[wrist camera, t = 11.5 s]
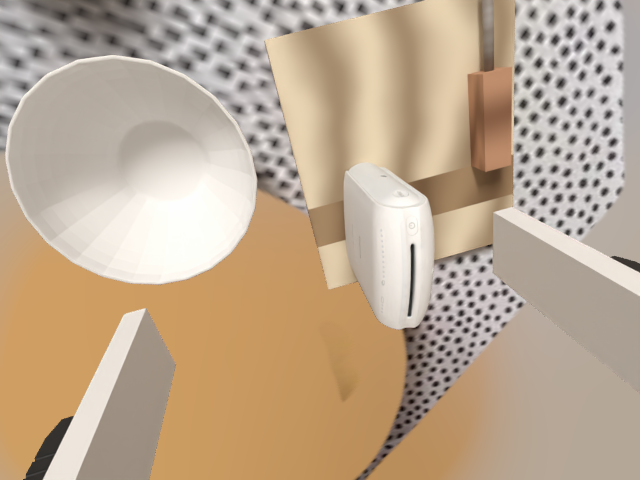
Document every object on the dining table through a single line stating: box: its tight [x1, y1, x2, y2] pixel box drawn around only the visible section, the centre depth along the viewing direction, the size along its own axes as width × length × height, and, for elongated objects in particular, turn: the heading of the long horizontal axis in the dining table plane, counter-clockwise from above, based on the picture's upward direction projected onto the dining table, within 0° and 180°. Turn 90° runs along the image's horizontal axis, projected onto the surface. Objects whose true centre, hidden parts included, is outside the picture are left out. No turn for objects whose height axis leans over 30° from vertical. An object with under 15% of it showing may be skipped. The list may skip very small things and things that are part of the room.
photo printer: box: [344, 162, 434, 330], centre depth 29 cm, size 10×4×12 cm, turn 4°
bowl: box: [5, 55, 257, 285], centre depth 28 cm, size 16×16×7 cm
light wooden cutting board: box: [264, 0, 515, 290], centre depth 34 cm, size 20×23×2 cm
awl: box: [467, 0, 512, 172], centre depth 30 cm, size 14×2×2 cm, turn 13°
